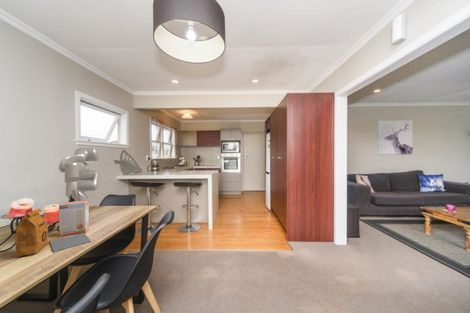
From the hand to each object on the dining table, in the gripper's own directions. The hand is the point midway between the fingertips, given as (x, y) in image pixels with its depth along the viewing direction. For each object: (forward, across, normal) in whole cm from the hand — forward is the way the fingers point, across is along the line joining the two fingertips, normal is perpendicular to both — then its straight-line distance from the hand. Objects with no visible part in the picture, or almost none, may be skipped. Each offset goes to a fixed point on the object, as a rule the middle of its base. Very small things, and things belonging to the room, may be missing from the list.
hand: (71, 205), depth 127 cm
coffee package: (+17, +22, -19) cm, 34 cm away
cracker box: (+17, +9, 0) cm, 19 cm away
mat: (+17, +24, -4) cm, 30 cm away
